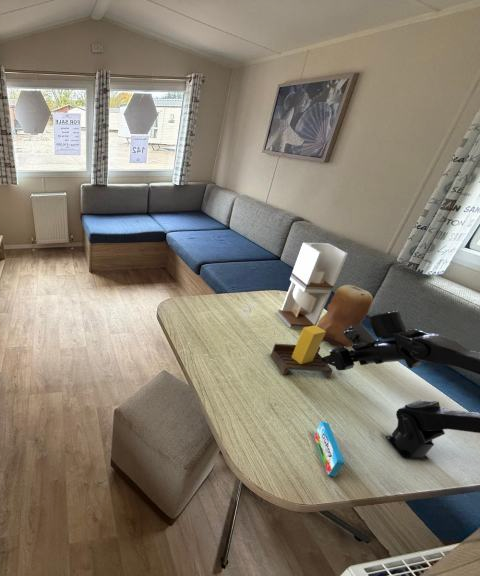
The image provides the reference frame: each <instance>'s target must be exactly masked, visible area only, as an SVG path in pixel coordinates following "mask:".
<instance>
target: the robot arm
mask: <svg viewBox="0 0 480 576" xmlns="http://www.w3.org/2000/svg"><path fill="white" fill-rule="evenodd" d="M366 318H367V320H368V322H369V325H370V327H371V328H372V330H373V333H374V336H375V337H376V338H374V336H373V335H372V334H371V333H370V332H369V330H368V329H367V328H366V327H365V326H364V325H363V324H362V323H361V324H358V325H353V326H351V327H350V328H347V329H345V331H344V336H345V337H346V338H347V339H348V340H349V341H352V342H353V343H354V345H351V346H350V347H351V348H352V349H350V350H349V349H348V348H347V347H335V348H331V349H329V351H328V352H329V354H328V355H325V356H322V358H321V361H322V362H324V363H327V364H328V365H329V366H332V367H334V368H335V369H336V371H340V372H341V371H347V370H351V369H353V368H354V366H355V363H357V362H358V363H359V364H360V366H366V365H370V364H375V365H380V364H384V363H393V362H394V363H395V362H405V363H406V366H407V368H408V369H413V368H417V367H420V366H421V364H422V361H423V362H427V363H429V364H430V363H431V364H435V365H443V366H451V367H455V368H459V369H461V370H463V371H468V372H469V373H472V374H475V375H478V376H480V352H476V351H473V350H470V349H468V348H465V347H464V346H463V345H461V344H460V343H458V342H457V341H455V340H452V339H450V338H448V337H445V336H443V335H441V334H438V333H427V332H424V331H422V330H418V329H415V328H410V329H407V328H406V325H405V323H404V322H403V319H402V315H401V313H400V311H398V310H396V311H391V312H389V311H387V312H383V313H377V314H373V315H369V316H366ZM377 338H378V339H377ZM379 338H381V339H379ZM391 338H393V339H391ZM386 339H388V340H386ZM395 416H396V419H397V426H396V428H395V429H394V430H393V432H392V433H391V435H386V436H385V439H386V440H387V441H388V442H389V444H390V445H391V446H392V447H393V449H394V450H395V451H396V452H397V453H398V455H399V456H400V457H401V458H402V459H405V460H416V461H417V460H418V461H428V460H429V457H428V456H427V454H428V453H429V452H430V450H431V449H432V448H433V447H434V445H435V443H434V442H433V440H435V439H436V438H437V439H438V438H439V437H441V436H445V434H446V433H445V430H451V431H452V430H453V431H461V432H468V433H476V434H480V412H474V411H462V410H450V409H446V408H445V407H443V406H441V405H440V402H439V400H433V401H428V400H423V399H419V400H416V401H413V402H411V403H408V404H405V405H404V406H403V407H399V408H398V409H397V410H396V413H395Z"/></svg>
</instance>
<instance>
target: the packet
mask: <svg viewBox="0 0 480 576" xmlns="http://www.w3.org/2000/svg"><path fill="white" fill-rule="evenodd" d="M325 333H326V331H324V330H323V329H321V328H319V327H318V326H317V325H314V326H309V327H304V328H302V330H301V334H300V335H299V338H298V340H297V341H296V344H295V345H296V347H295V349H294V352H293V354H292V356H291V357H292V358H293V359H295V360H296V361H297V362H299V363H300V364H304V363H307V362H311V361H313V359H314V357H315V354H316V352H317V350H318V348H319V346H320V347H321V343H322V341H323V337H324V335H325Z"/></svg>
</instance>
